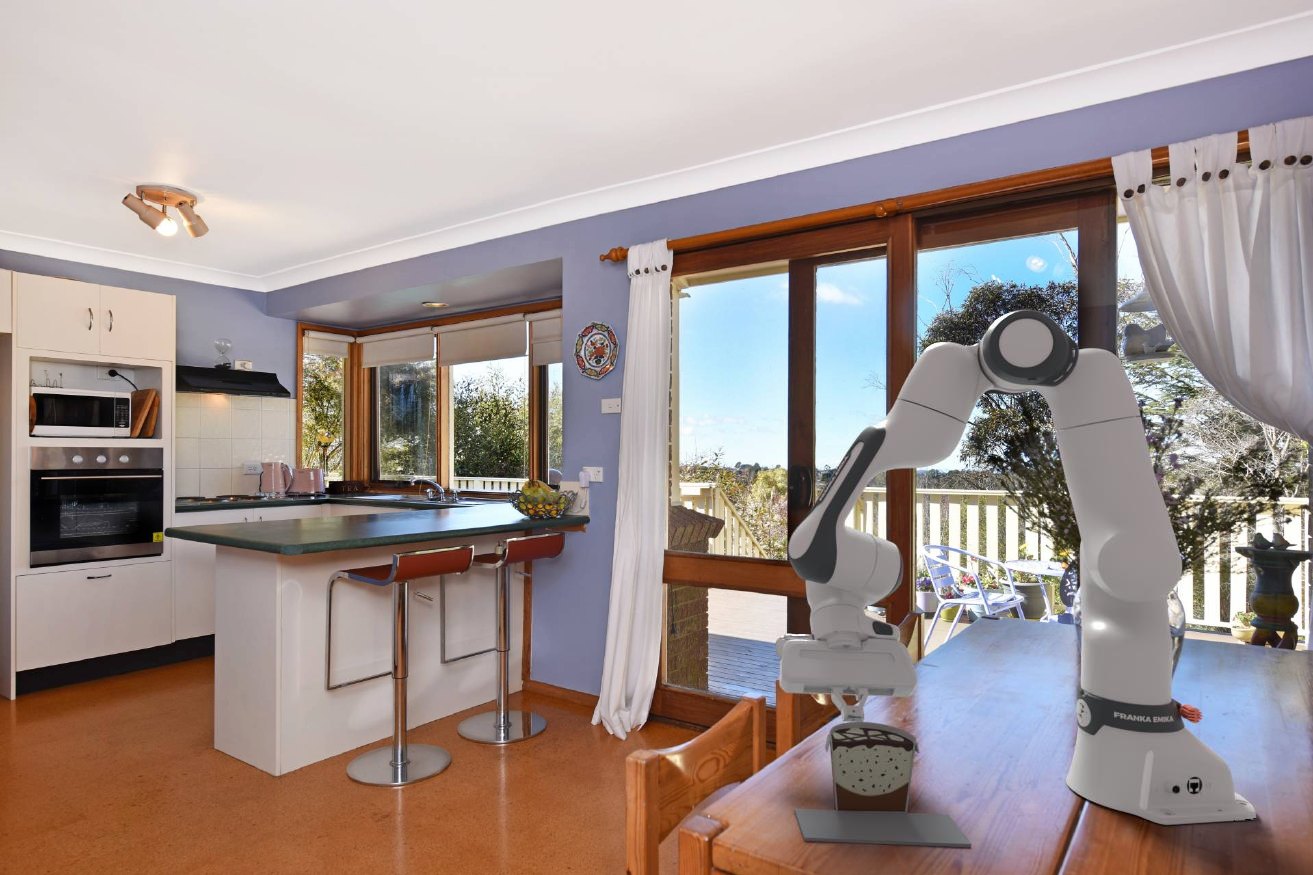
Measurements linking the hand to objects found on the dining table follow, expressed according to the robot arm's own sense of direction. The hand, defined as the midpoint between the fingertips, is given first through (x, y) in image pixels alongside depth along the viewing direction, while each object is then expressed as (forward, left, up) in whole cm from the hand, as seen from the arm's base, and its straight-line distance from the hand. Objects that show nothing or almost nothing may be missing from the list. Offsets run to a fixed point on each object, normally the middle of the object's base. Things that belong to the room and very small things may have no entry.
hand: (853, 720), depth 111 cm
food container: (0, +7, -9) cm, 11 cm away
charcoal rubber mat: (0, +15, -9) cm, 17 cm away
